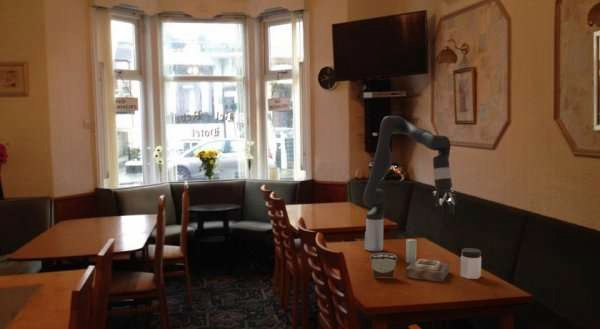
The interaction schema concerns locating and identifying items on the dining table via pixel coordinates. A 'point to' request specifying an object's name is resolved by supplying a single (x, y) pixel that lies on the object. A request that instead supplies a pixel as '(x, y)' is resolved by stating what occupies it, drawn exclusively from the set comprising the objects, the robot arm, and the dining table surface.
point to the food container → (383, 265)
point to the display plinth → (427, 270)
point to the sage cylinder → (410, 250)
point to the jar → (471, 263)
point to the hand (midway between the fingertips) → (446, 213)
